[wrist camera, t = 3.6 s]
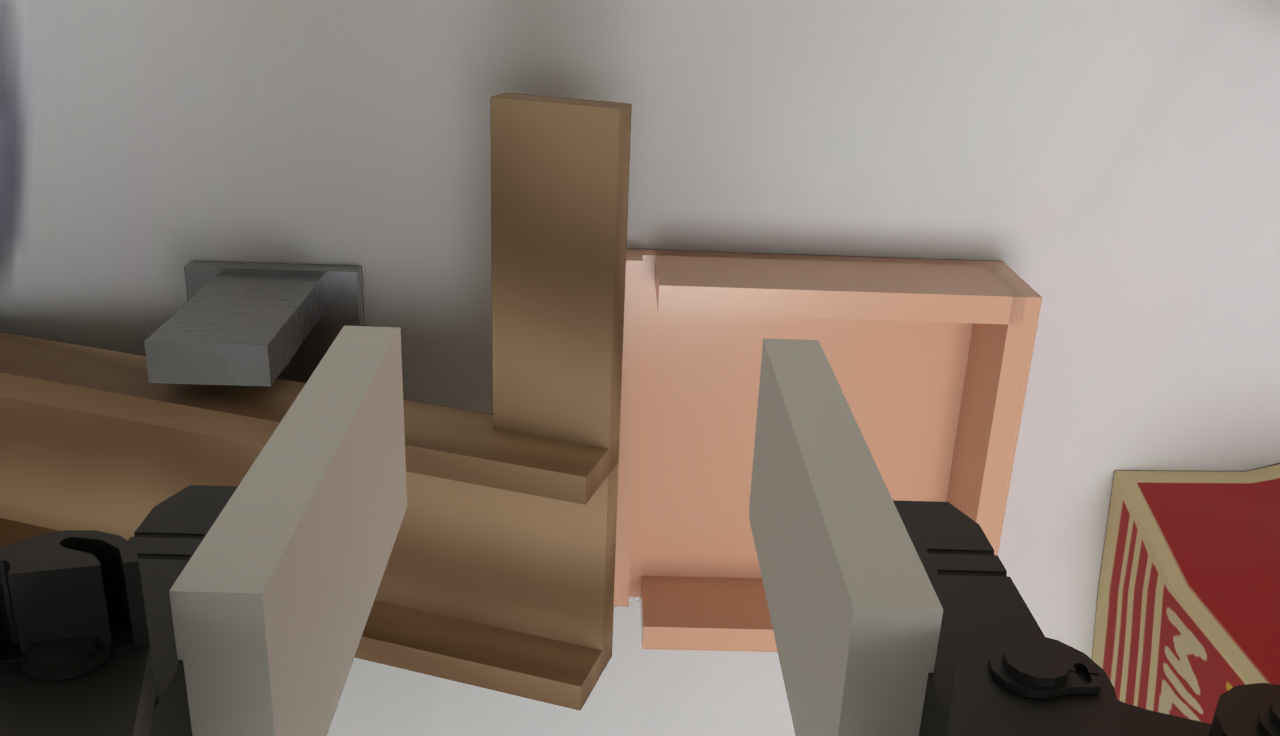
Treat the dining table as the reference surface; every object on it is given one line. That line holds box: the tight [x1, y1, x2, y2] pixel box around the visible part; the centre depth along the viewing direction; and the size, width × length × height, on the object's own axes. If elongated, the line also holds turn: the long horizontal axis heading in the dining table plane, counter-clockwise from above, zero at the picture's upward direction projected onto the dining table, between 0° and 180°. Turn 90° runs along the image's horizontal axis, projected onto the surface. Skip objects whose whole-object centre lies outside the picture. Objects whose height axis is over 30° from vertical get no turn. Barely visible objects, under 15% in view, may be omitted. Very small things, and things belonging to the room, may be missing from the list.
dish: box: [614, 249, 1042, 652], centre depth 35 cm, size 12×12×4 cm
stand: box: [144, 261, 364, 387], centre depth 33 cm, size 10×5×6 cm, turn 178°
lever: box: [0, 93, 631, 710], centre depth 31 cm, size 15×24×3 cm, turn 88°
